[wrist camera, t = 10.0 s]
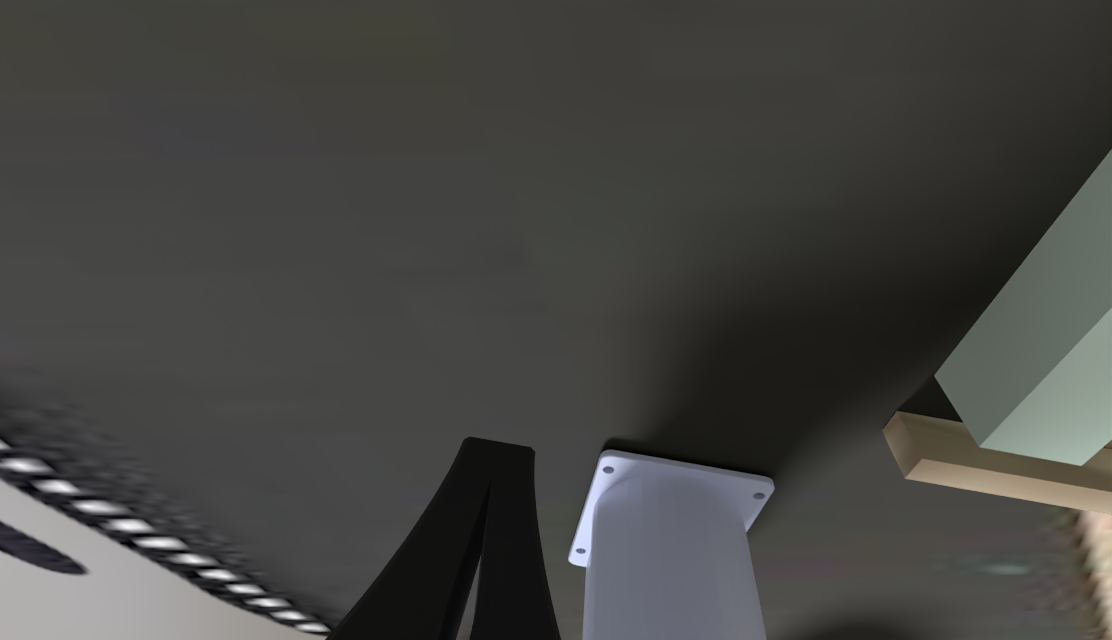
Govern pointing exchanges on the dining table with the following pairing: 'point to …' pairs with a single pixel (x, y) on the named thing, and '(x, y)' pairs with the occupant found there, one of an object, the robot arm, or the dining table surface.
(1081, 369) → the tee
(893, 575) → the dining table surface
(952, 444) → the dock
